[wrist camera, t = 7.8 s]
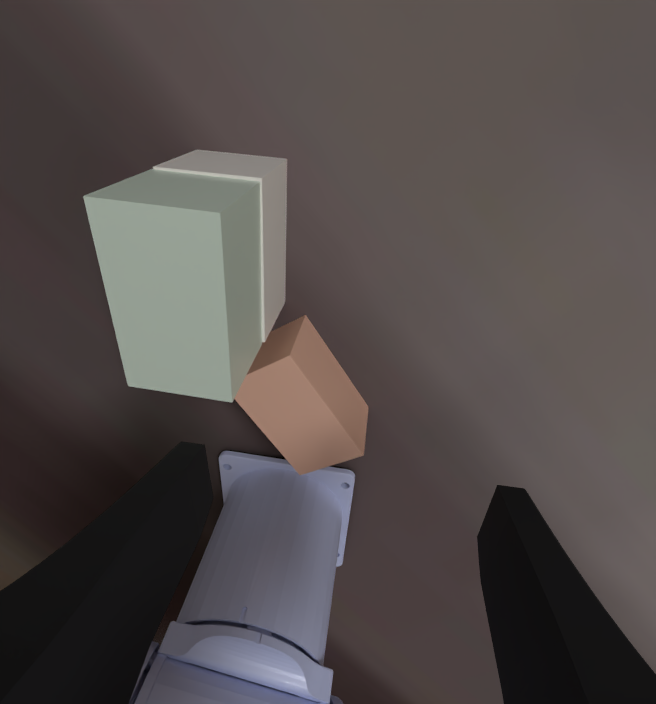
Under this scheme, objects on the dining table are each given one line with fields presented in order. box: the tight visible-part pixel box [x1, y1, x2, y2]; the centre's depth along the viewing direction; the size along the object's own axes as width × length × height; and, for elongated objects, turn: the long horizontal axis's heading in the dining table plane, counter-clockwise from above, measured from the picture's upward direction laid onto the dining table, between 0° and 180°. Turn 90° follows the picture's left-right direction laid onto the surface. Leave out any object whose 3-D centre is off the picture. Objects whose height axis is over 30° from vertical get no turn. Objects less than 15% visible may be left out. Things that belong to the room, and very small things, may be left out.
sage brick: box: [83, 169, 262, 402], centre depth 14 cm, size 6×4×4 cm, turn 176°
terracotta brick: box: [234, 315, 368, 475], centre depth 20 cm, size 6×4×4 cm, turn 31°
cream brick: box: [153, 150, 287, 342], centre depth 16 cm, size 6×4×4 cm, turn 176°
